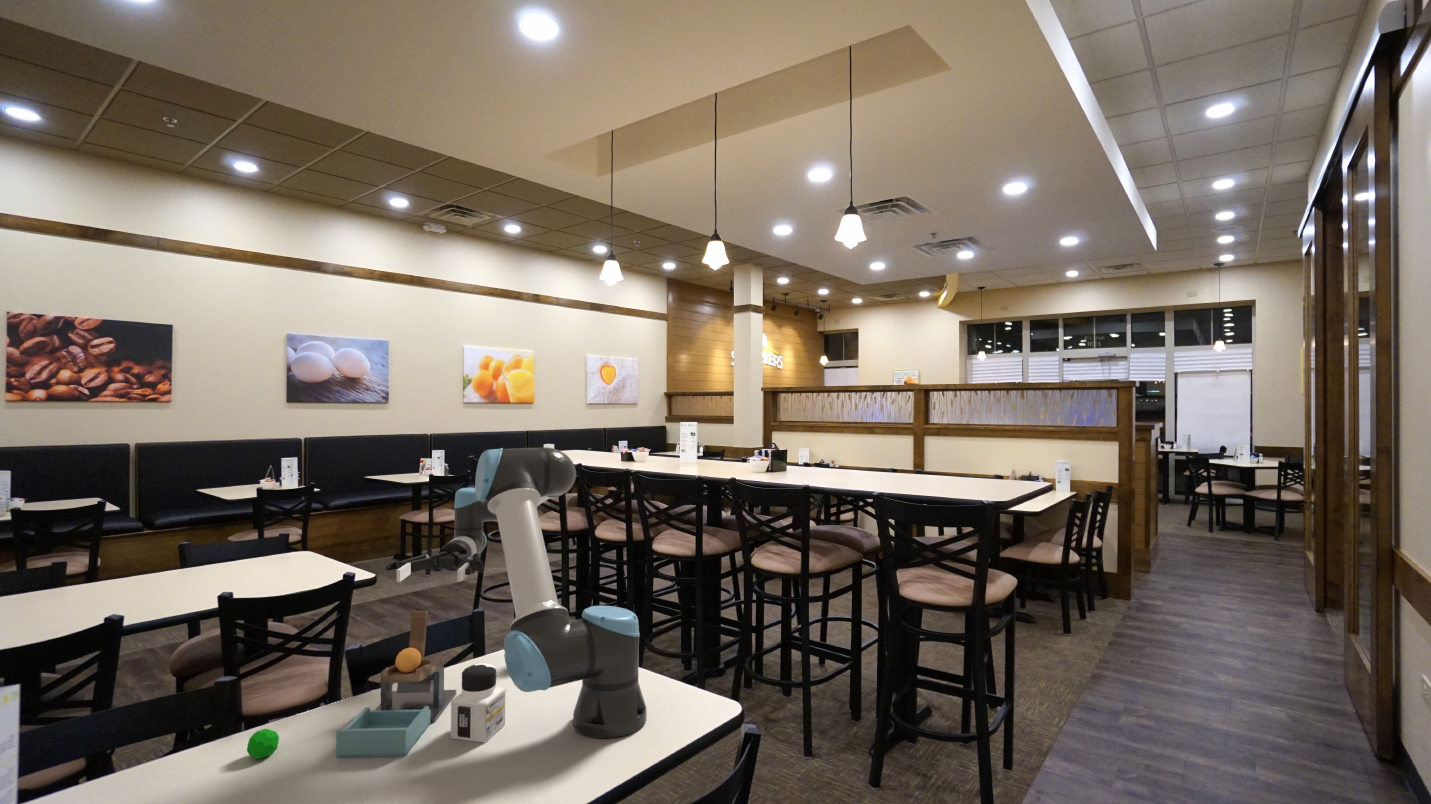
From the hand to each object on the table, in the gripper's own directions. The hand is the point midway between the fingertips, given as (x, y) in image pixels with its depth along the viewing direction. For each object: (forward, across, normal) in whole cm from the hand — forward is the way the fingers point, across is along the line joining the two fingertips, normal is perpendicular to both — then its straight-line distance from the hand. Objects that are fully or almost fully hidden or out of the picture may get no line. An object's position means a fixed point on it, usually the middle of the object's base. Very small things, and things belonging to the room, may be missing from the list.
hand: (428, 576), depth 151 cm
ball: (+12, 0, -15) cm, 19 cm away
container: (+20, -17, -26) cm, 37 cm away
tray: (+23, 0, -26) cm, 35 cm away
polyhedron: (+27, +20, -26) cm, 43 cm away
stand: (+9, 0, -26) cm, 28 cm away
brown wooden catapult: (+11, 0, -23) cm, 25 cm away
